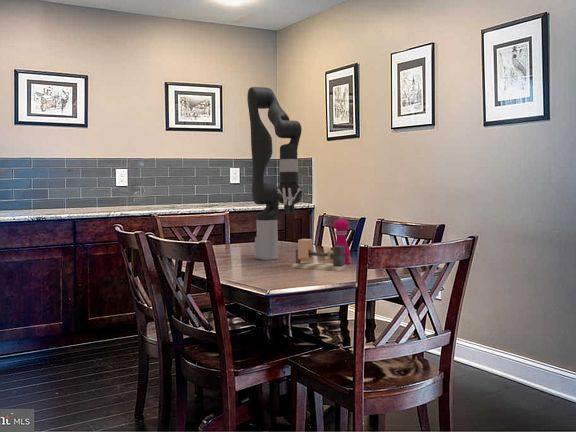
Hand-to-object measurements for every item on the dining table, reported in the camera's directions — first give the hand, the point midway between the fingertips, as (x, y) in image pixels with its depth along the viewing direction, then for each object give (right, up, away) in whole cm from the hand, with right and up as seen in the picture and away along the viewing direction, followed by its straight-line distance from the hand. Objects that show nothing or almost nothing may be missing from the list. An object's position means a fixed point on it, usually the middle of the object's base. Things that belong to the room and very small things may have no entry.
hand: (289, 214), depth 227 cm
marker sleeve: (+6, -18, -2) cm, 19 cm away
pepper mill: (+22, -21, +7) cm, 31 cm away
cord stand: (+12, -21, -5) cm, 25 cm away
